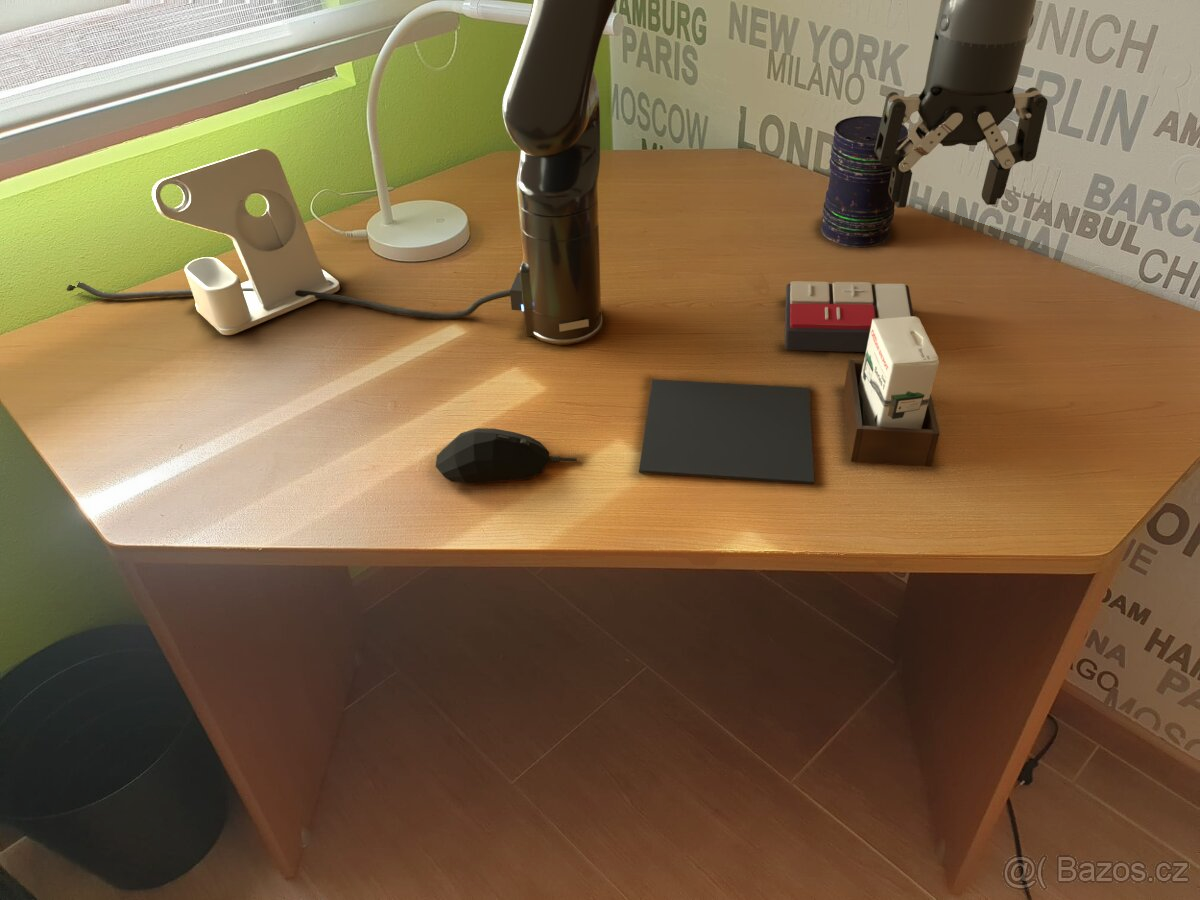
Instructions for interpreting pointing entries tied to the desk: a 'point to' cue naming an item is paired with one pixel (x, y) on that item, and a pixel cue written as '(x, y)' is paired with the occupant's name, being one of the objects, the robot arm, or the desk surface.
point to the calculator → (839, 313)
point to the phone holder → (247, 241)
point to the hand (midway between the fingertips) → (943, 202)
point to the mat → (728, 432)
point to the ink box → (897, 374)
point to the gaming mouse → (493, 457)
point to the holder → (886, 431)
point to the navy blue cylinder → (858, 185)
